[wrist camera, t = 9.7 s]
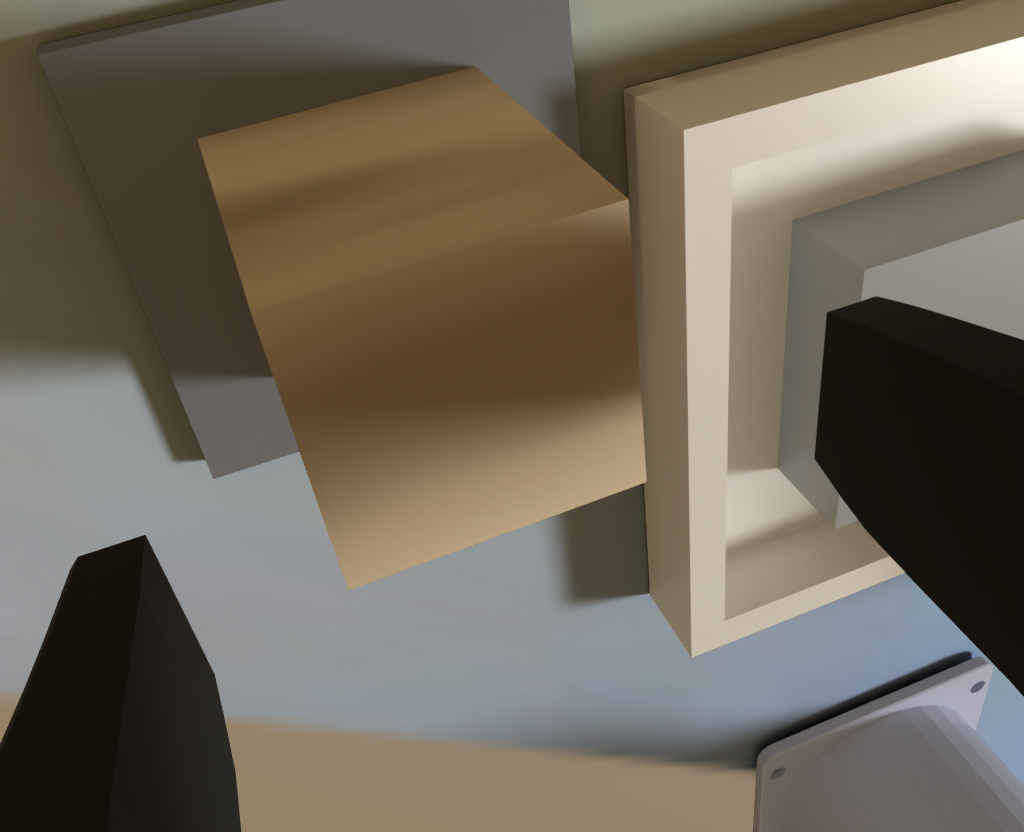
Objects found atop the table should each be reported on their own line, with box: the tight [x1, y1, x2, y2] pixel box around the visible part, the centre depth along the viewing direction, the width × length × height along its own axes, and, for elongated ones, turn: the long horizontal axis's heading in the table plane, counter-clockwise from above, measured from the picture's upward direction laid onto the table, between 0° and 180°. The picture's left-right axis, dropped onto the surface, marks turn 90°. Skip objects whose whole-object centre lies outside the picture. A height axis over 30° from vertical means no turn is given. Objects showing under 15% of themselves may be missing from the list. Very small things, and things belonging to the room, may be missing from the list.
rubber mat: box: [37, 0, 582, 479], centre depth 15 cm, size 7×7×1 cm
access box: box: [623, 0, 1024, 658], centre depth 20 cm, size 12×12×2 cm
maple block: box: [197, 66, 647, 590], centre depth 13 cm, size 4×4×5 cm
